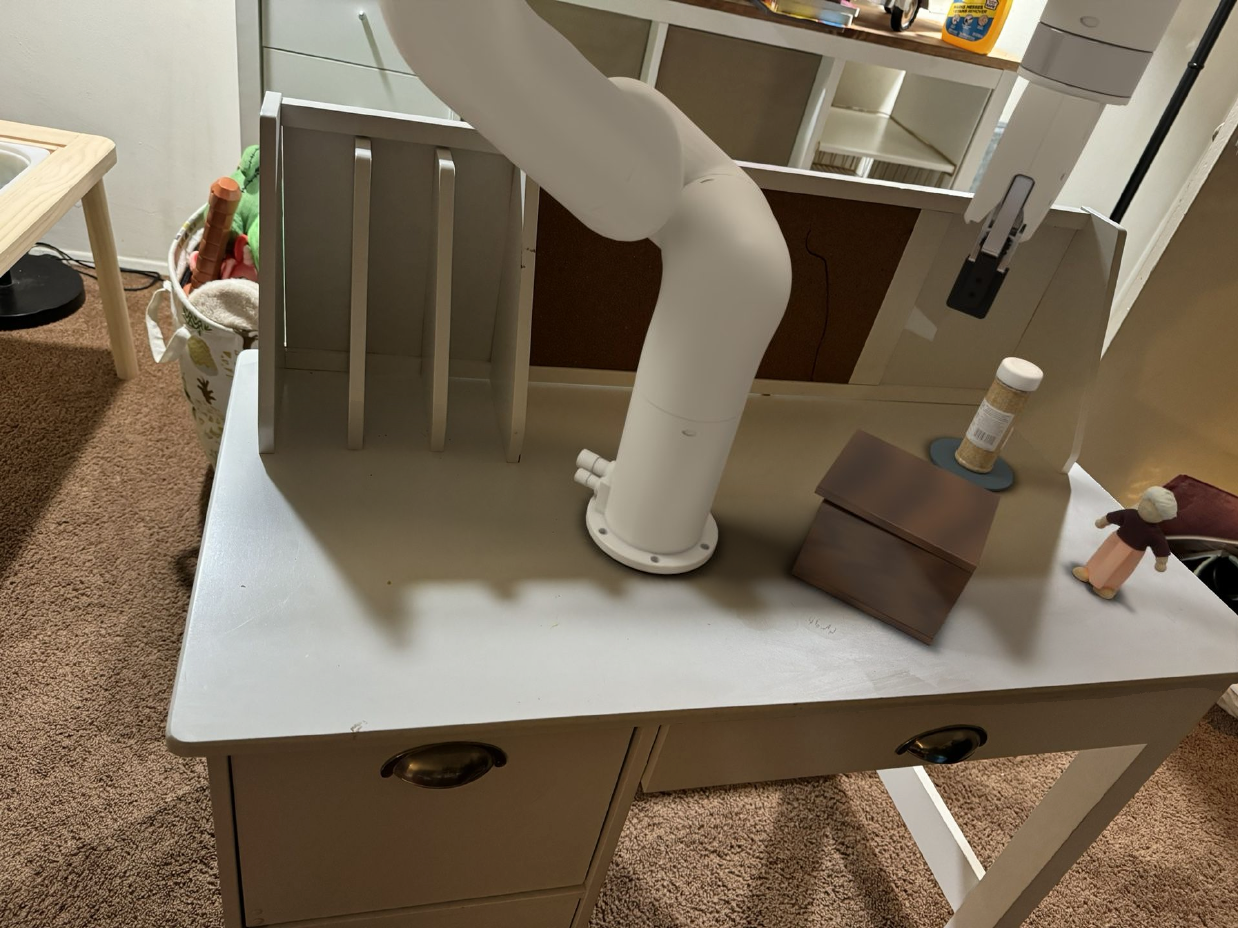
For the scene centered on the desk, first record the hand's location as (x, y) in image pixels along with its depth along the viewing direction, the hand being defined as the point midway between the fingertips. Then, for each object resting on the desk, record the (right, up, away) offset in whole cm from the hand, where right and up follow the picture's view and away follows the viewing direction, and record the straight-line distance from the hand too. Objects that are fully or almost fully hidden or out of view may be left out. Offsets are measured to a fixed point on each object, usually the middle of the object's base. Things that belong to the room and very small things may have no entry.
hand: (966, 309), depth 69 cm
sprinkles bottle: (+14, -12, +35) cm, 39 cm away
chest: (-3, -23, +15) cm, 27 cm away
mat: (+14, -12, +35) cm, 40 cm away
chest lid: (-1, -15, +10) cm, 18 cm away
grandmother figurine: (+22, -25, +20) cm, 39 cm away
